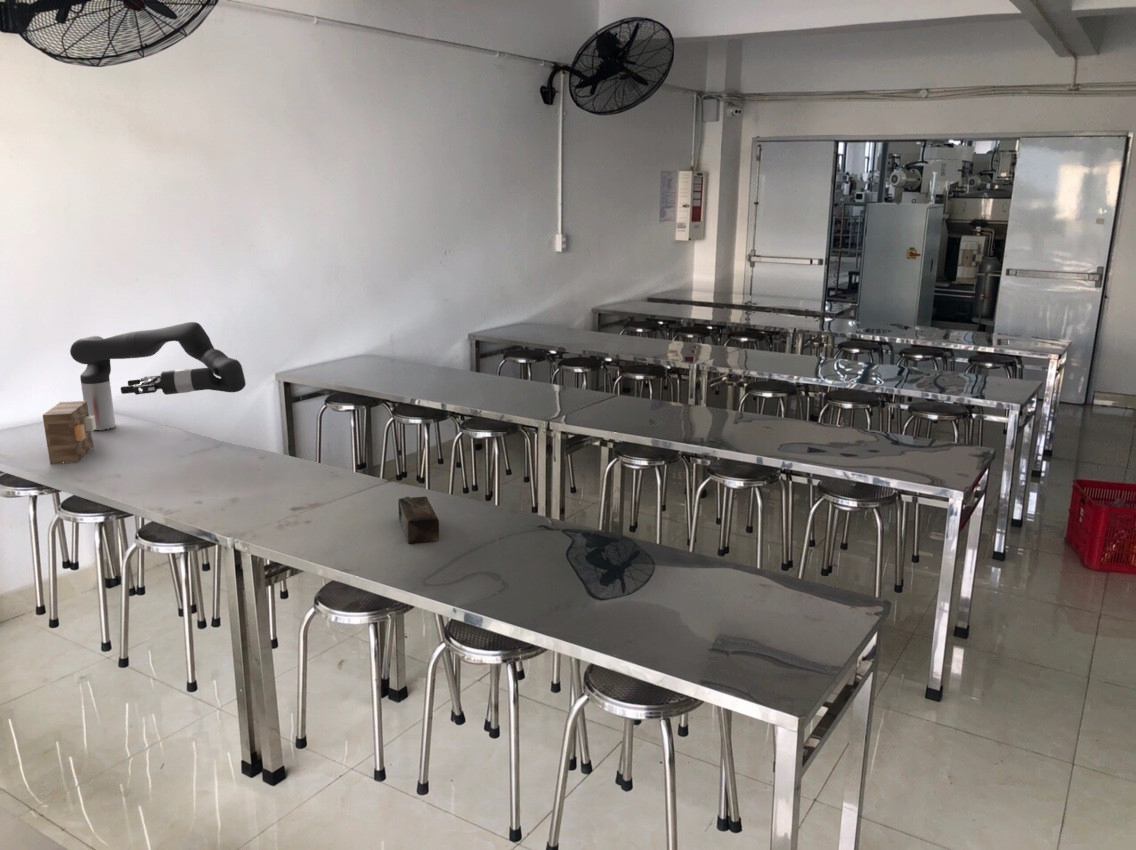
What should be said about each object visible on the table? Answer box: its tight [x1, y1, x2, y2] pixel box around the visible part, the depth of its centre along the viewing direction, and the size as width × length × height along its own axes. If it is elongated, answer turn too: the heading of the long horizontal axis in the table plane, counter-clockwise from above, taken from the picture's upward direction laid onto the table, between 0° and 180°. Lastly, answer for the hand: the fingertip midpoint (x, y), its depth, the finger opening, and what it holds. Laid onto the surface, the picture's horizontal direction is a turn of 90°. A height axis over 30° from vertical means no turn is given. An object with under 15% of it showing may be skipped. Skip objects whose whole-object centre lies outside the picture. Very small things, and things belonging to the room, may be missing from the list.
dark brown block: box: [397, 496, 440, 545], centre depth 228 cm, size 8×19×7 cm, turn 17°
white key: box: [84, 416, 96, 432], centre depth 296 cm, size 4×5×4 cm
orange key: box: [74, 424, 86, 441], centre depth 285 cm, size 4×5×4 cm
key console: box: [42, 400, 94, 464], centre depth 290 cm, size 18×8×16 cm, turn 13°
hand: (124, 387), depth 284 cm, fingers open, 8 cm apart
